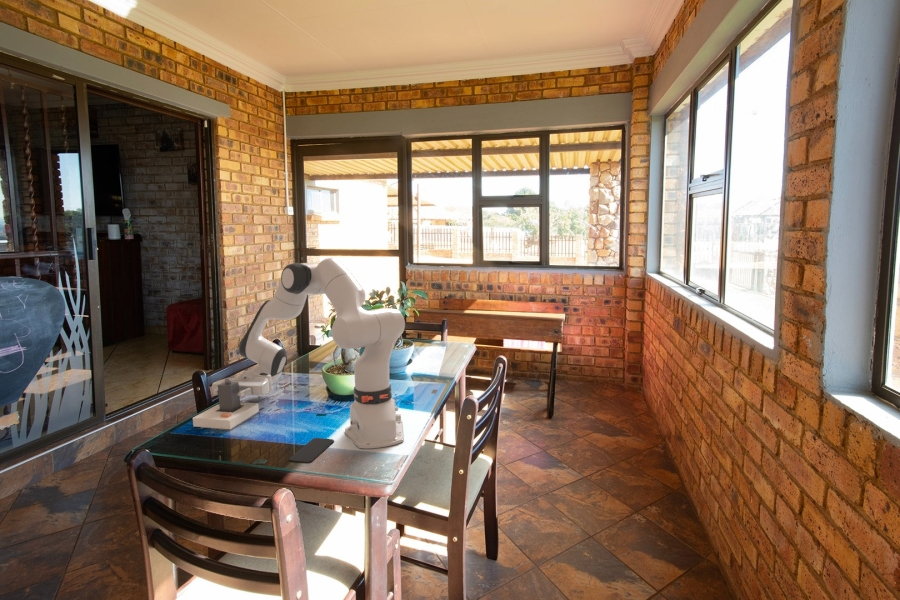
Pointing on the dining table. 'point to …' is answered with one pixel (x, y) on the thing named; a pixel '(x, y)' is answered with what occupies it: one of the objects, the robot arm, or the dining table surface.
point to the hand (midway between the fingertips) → (227, 394)
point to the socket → (225, 417)
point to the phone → (311, 450)
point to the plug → (228, 396)
